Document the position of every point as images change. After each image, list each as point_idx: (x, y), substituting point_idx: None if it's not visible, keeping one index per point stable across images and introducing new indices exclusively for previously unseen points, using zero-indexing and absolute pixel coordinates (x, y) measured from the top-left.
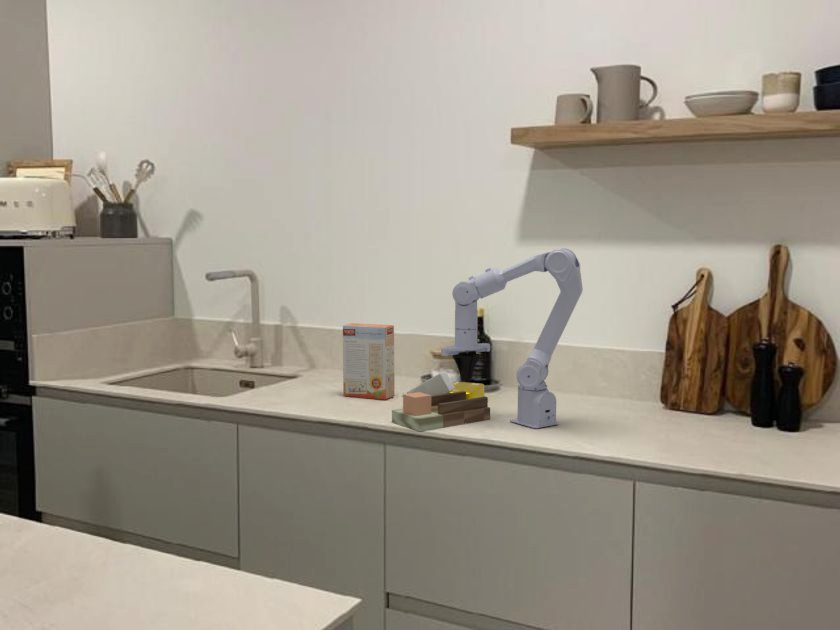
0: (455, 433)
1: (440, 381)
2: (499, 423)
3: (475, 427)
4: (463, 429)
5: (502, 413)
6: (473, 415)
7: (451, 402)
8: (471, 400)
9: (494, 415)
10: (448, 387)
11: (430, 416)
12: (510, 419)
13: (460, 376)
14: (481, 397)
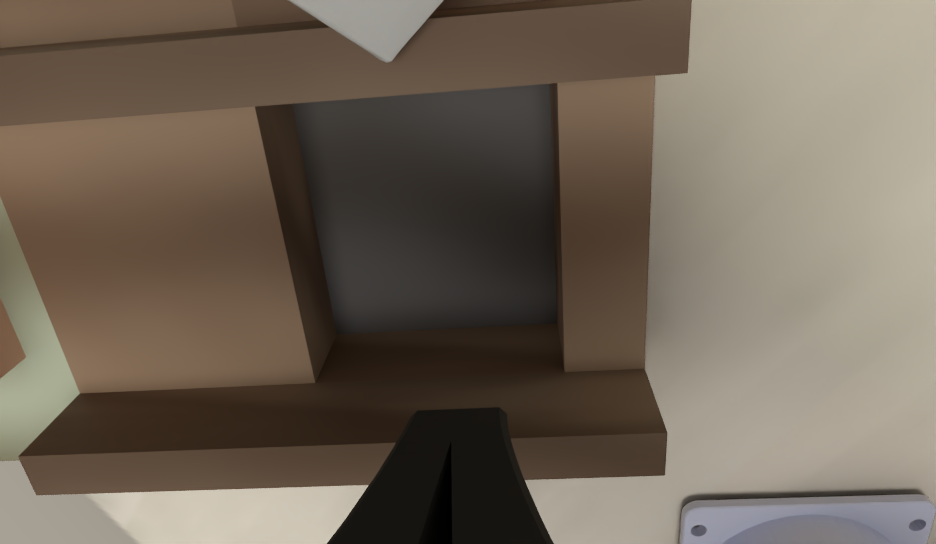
0: (176, 536)
1: None
2: (592, 490)
3: None
4: (271, 492)
5: (881, 261)
6: None
7: (175, 477)
8: None
9: (760, 286)
10: (382, 13)
11: None
12: (696, 510)
13: (387, 458)
14: (599, 451)
